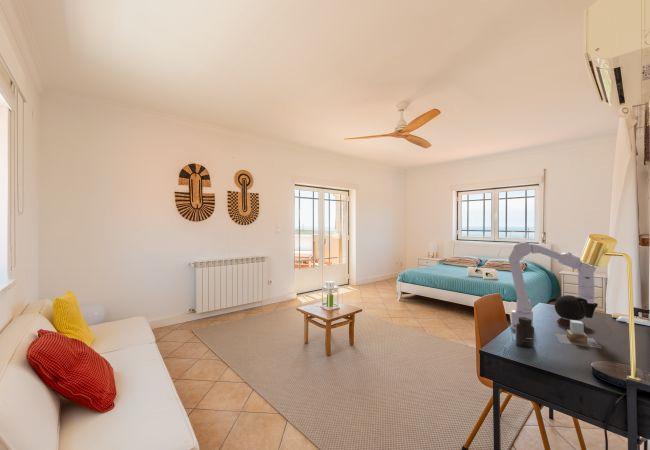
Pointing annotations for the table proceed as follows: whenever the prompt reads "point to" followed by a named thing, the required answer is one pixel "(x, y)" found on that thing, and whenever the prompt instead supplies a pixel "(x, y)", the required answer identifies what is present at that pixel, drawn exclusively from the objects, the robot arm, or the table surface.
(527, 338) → the supplement bottle
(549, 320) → the table surface
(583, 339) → the walnut block
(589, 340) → the mat
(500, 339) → the table surface
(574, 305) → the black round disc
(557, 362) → the table surface
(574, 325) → the pale grey small block
